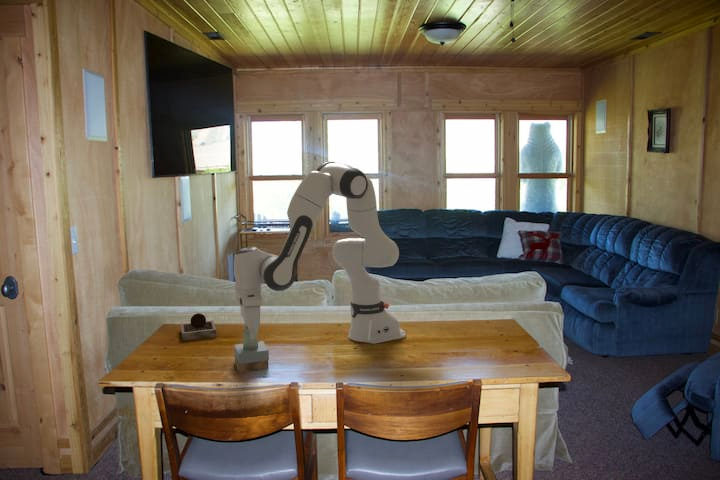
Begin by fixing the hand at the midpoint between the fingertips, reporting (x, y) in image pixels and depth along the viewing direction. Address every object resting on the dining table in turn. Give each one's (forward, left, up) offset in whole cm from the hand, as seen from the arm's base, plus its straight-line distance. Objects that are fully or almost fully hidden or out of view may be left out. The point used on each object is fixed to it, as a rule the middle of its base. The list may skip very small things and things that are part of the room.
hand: (250, 334), depth 196 cm
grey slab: (0, 0, -8) cm, 8 cm away
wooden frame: (+15, -42, -11) cm, 46 cm away
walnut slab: (0, 0, -12) cm, 12 cm away
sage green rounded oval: (0, 0, -4) cm, 5 cm away
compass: (+14, -44, -11) cm, 47 cm away
